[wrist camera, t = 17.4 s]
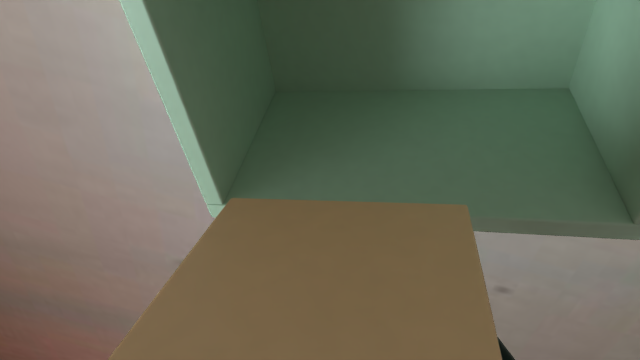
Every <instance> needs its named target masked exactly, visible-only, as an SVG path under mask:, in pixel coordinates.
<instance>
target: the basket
mask: <svg viewBox="0 0 640 360" xmlns="http://www.w3.org/2000/svg"><path fill="white" fill-rule="evenodd" d="M119 1H120V3H121V6H122V8H123V10H124V13H125V15H126V17H127V20H128V22H129V24H130V27H131V29H132V31H133V34H134V36H135V38H136V41H137V43H138V45H139V48H140V50H141V53H142V55H143V57H144V60H145V62H146V64H147V67H148V69H149V71H150V74H151V76H152V78H153V81H154V83H155V85H156V88H157V90H158V92H159V95H160V97H161V99H162V102H163V104H164V106H165V109H166V111H167V113H168V116H169V118H170V121H171V123H172V125H173V128H174V130H175V132H176V135H177V137H178V139H179V142H180V144H181V146H182V149H183V151H184V153H185V156H186V158H187V160H188V163H189V165H190V167H191V170H192V172H193V174H194V177H195V179H196V181H197V184H198V186H199V188H200V191H201V193H202V196H203V198H204V200H205V203H207V207H208V210H209V212H210V214H211V216H212V217H217V216H218V214H219V213H220V212H221V210H222V209H223V208H224V207H225V205H226V204H227V203H228V201H229V200H230V199H231V198H253V199H287V200H321V201H355V202H390V203H424V204H458V205H467V207H468V210H469V214H470V219H471V223H472V228H473V231H480V232H499V233H518V234H536V235H555V236H574V237H593V238H612V239H630V240H640V0H119Z"/></svg>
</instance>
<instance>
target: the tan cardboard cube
mask: <svg viewBox="0 0 640 360" xmlns="http://www.w3.org/2000/svg"><path fill="white" fill-rule="evenodd" d="M108 360H502V356H501V351H500V347H499V343H498V338H497V334H496V329H495V325H494V321H493V316H492V312H491V307H490V303H489V298H488V294H487V290H486V285H485V281H484V276H483V272H482V267H481V263H480V259H479V254H478V250H477V245H476V241H475V237H474V232H473V228H472V223H471V219H470V214H469V210H468V207H467V205H458V204H424V203H390V202H355V201H321V200H287V199H253V198H231V199H230V200H229V201H228V203H227V204H226V205H225V207H224V208H223V209H222V210H221V212H220V213H219V214H218V216H217V217H216V218H215V220H214V221H213V222H212V224H211V225H210V226H209V227H208V229H207V230H206V231H205V233H204V234H203V235H202V237H201V238H200V239H199V241H198V242H197V243H196V245H195V246H194V247H193V248H192V250H191V251H190V252H189V254H188V255H187V256H186V258H185V259H184V260H183V262H182V263H181V264H180V265H179V267H178V268H177V269H176V271H175V272H174V273H173V275H172V276H171V277H170V279H169V280H168V281H167V283H166V284H165V285H164V286H163V288H162V289H161V290H160V292H159V293H158V294H157V296H156V297H155V298H154V300H153V301H152V302H151V303H150V305H149V306H148V307H147V309H146V310H145V311H144V313H143V314H142V315H141V317H140V318H139V319H138V321H137V322H136V323H135V324H134V326H133V327H132V328H131V330H130V331H129V332H128V334H127V335H126V336H125V338H124V339H123V340H122V341H121V343H120V344H119V345H118V347H117V348H116V349H115V351H114V352H113V353H112V355H111V356H110V357H109V359H108Z"/></svg>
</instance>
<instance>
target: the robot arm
mask: <svg viewBox="0 0 640 360" xmlns="http://www.w3.org/2000/svg"><path fill="white" fill-rule="evenodd" d="M497 338H498V337H497ZM498 343H499V347H500V351H501V356H502V360H515V359H514V358H513V356H512V355H511V354H510V352H509V351H508V350H507V349H506V347H505V346H504V345H503V343H502V342H501V341H500V339H499V338H498Z"/></svg>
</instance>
